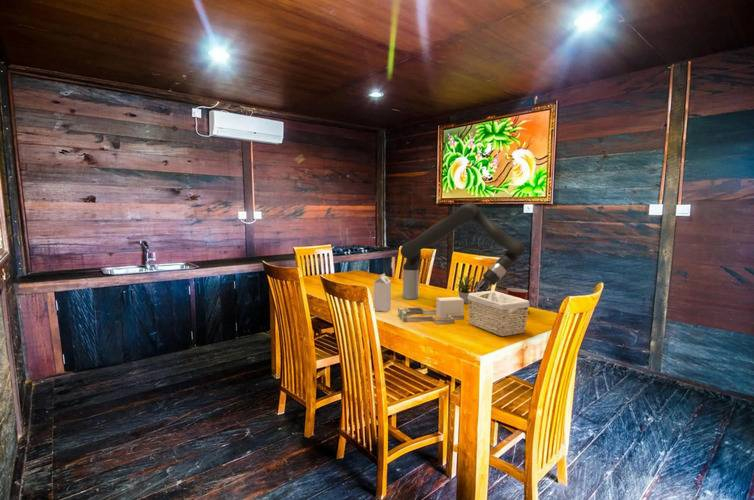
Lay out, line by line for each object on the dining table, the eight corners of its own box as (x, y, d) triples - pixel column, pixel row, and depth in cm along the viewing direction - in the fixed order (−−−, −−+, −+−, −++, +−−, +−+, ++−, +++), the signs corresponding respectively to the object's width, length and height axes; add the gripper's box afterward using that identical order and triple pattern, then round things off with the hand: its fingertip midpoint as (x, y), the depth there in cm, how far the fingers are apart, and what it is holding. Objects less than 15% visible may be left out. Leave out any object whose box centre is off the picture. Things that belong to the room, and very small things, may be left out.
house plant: (483, 301, 224) (484, 273, 222) (475, 306, 213) (476, 277, 211) (459, 298, 232) (460, 271, 230) (450, 303, 220) (451, 274, 218)
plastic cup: (530, 311, 204) (531, 288, 203) (522, 315, 196) (523, 292, 195) (510, 307, 212) (511, 285, 210) (501, 311, 204) (502, 288, 202)
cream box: (436, 315, 196) (436, 297, 195) (458, 314, 198) (459, 297, 197) (440, 318, 190) (440, 300, 189) (463, 317, 192) (463, 299, 191)
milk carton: (373, 310, 203) (373, 275, 201) (378, 307, 210) (378, 272, 208) (386, 312, 201) (386, 276, 198) (390, 308, 207) (391, 273, 205)
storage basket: (465, 323, 183) (466, 292, 182) (492, 319, 190) (493, 289, 188) (500, 338, 162) (502, 304, 160) (529, 333, 168) (531, 300, 167)
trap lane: (395, 312, 201) (395, 304, 201) (450, 309, 207) (450, 302, 206) (407, 325, 178) (407, 317, 178) (468, 322, 184) (468, 314, 183)
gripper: (484, 266, 202) (461, 290, 201) (496, 270, 189) (471, 296, 188) (493, 276, 204) (470, 300, 203) (505, 281, 191) (481, 306, 190)
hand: (471, 298), depth 195 cm, fingers closed
